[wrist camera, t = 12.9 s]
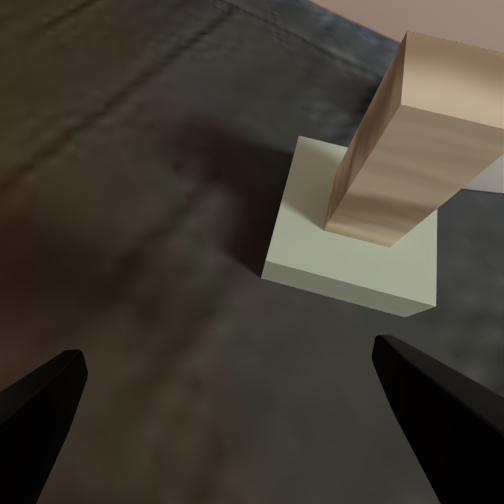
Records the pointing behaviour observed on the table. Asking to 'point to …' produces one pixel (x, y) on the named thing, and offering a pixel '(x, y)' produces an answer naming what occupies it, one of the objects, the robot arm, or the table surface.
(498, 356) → the table surface
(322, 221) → the sage base block
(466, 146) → the maple block
